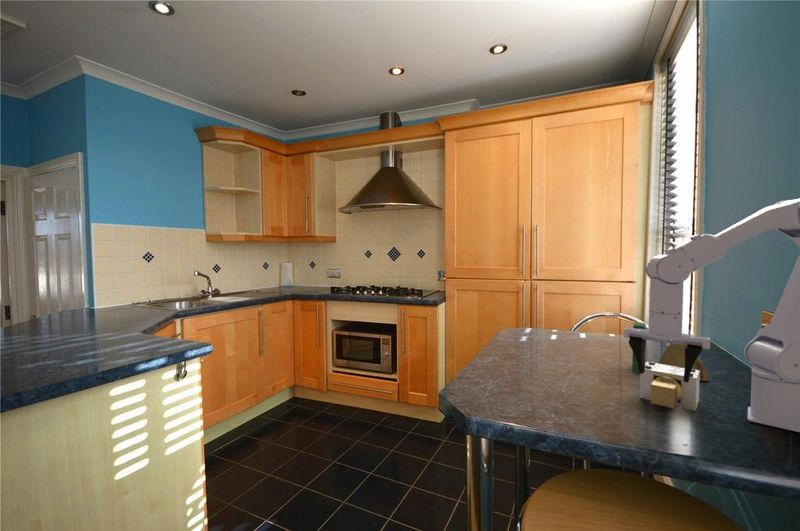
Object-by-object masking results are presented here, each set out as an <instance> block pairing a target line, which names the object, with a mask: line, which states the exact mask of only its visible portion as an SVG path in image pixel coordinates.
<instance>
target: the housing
mask: <svg viewBox="0 0 800 531" xmlns="http://www.w3.org/2000/svg"><path fill="white" fill-rule="evenodd" d="M684 370H685V368H681V367H675V366H669V365H664V364H659V362H658V363H657V362H655V361H645V372H644V373H643V374H641V373H639V374H640V376H639V377H640V378H639V379H640V380H639V399H640V398H643V399H642V400H644V399H646V400H645V401H649V400H651V383H652V382H653V380H654V379H656V378H657V377H660V376H667V377H670V378H673V379H678V380H681V387H682V391H683V394H682V397H681V399H680V400H679V401H678V402H677V403H676V405H675V406H678V407H677V408H679V407H681V408H680V409H683V408H685V409H684V410H689V411H693V412H696V410H697V408H698V406H697V405H699V403H698V402H700V382H701V380H700V371H699V370H695V369H692V370H691V373H690V377H689V382H684Z"/></svg>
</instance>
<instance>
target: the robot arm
mask: <svg viewBox="0 0 800 531" xmlns="http://www.w3.org/2000/svg"><path fill="white" fill-rule="evenodd" d="M770 230H776V231H778V232H779V233H781V234H783V235H784V236H785V237H787V238H788V239H790V240H792V241H793V242H794V243H795V244H796V245H797V247H798V248H799V249H800V198H796V199H784V200H781V201H778V202H775V204H773V205H769V206H766V207H764V208H762V209H760V210H758V211H755V213H752V214H751V215H749V216H747V217H745V218H744V219H741V220H740V221H738V222H737V223H735V224H733V225H731V226H729V227H727V228H726V229H724V230H722V231H721V232H718V233H717V234H714V235H713V234H709V233H703V234H698V233H697V234H694V235H692V236H690V237H689V239H690V240H689V241H687V242H684V243H683V244H681V245H680V246H679V245H678V246H677V247H670V248H668V249H667V254H659V255H655V256H653V257H652V258H651V259H650V260H649V262H647V266H646V267H645V268H644V271H645V273H646V274H645V275H647V277H648V278H649V301H648V303H649V304H648V329H635V328H633V327H625V328H624V329H623V330H624V331H623V338H627V339H628V344H629V347H630V349H631V350H632V354H633V353H634V355H635V357H636V360H637V364H638V368H639V374H640V373H641V374H643V373H644V372H645V363H646V347H647V346H646V345H647V341H651V342H658V343H659V342H660V343H667V344H670V343H673V344H680V345H687V347H686V348H685V370H684V382H689V377H690V373H691V370H692V367H693V365H694V363H695V361H696V359H697V358H698V357H699V356H700V355H701V353H702V352H703V349H704V350H710V348H711V338H710V337H706V336H699V335H693V334H688V333H683V316H684V314H683V309H684V308H683V307H684V282H685V281H686V280H687V279H688V278H689V277H690V274H692V273H695V272H696V271H698V270H700V269H702V268H705V267H706V266H708V265H710V264H713V263H715V262H716V261H719V260H721V259H722V258H724V257H725V255H726V252H727V249H729V248H730V247H731V248H732V247H733V246H735V245H737V244H740V243H742V242H744V241H747V240H749V239H751V238H753V237H756V236H758V235H760V234H762V233H765V232H767V231H770ZM672 340H675V341H672ZM743 354H744V358H745V360H746V361H747V362H748V363H749V364H750V366H751V368H750V369H751V382H750V383H751V386H750V388H751V389H750V406H747V421H748V422H753V423H757V424H760V425H766V426H770V427H775V428H780V429H783V430H788V431H793V432H797V433H800V254H799V255H798V257H797V260H796V261H795V264H794V267H793V269H792V271H791V274H790V277H789V278H788V281H787V283H786V286H785V288H784V291H783V293H782V296H781V298H780V300H779V302H778V305H777V307H776V310H775V312H774V315H773V316H772V318H771V321H770V323H769V324H767V325H765V326H764V327H762V328H760V329H758V331H757V332H756V334H755V337H754V338H752V340H750V341H749V342H747V344H746V345H745V347H744V352H743Z"/></svg>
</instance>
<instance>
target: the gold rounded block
mask: <svg viewBox="0 0 800 531" xmlns="http://www.w3.org/2000/svg"><path fill="white" fill-rule="evenodd" d="M682 394H683V391H682V387H681V380H678V379H673V378H670V377H667V376H660V377H657V378H656V379H654V380H653V382H652V383H651V401H650V404H654V405H658V406H663V407H666V408H670V409H675V405H676V403H677V402H678V401H679V400H680V399H681V397H682Z"/></svg>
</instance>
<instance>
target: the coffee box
mask: <svg viewBox="0 0 800 531" xmlns="http://www.w3.org/2000/svg"><path fill="white" fill-rule="evenodd" d="M646 327H647V326H646V323H645V322H641V321H640V322H639V321H635V322H634V324H633V326H632V328H635V329H646ZM631 365H632V366H631V371H632V372H633V373H639V368H638V364H637V360H636V357H635V355H634V353H633V352H632V364H631ZM639 374H640V373H639Z"/></svg>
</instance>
